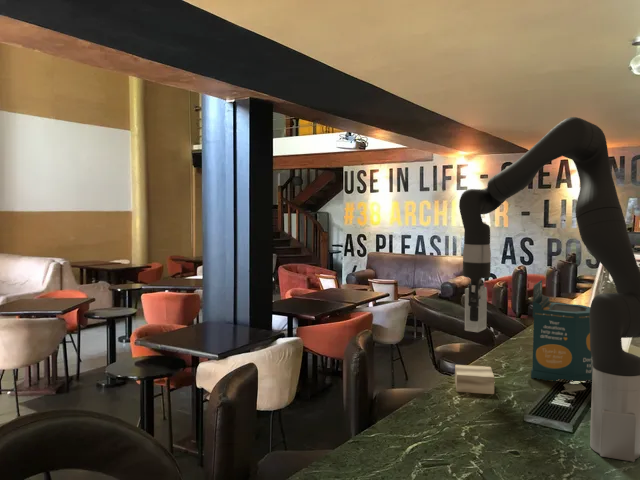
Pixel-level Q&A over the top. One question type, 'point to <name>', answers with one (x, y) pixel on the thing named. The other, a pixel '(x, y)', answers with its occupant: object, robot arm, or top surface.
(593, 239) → the robot arm
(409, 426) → the top surface
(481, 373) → the birch block
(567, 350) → the donation box
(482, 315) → the skincare box
